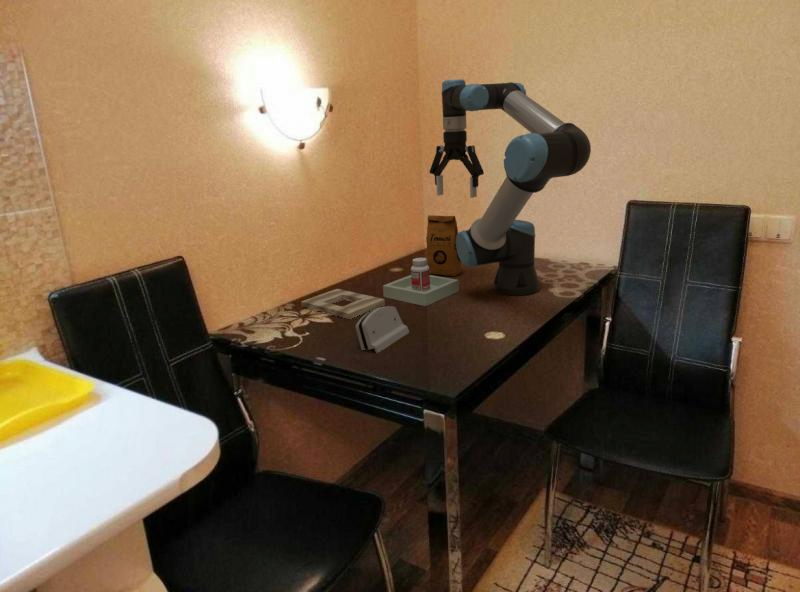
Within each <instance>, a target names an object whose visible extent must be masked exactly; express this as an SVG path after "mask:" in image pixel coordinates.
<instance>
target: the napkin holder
mask: <svg viewBox="0 0 800 592" xmlns="http://www.w3.org/2000/svg"><path fill="white" fill-rule="evenodd" d="M355 331H356V335H357V338H358V341H359V345H360V349H361V351H362V350H365V351H366V350H368V351H369V350H373V349H374V351H375V353H376V354H379V353H380V352H382V351H384V350H385V349H386V348H388V347H390V346H391V345H393V344H394V343H395V342H397V341H399V340H400V339H402V338H404V337H405V336H406V335H409V333H410V330H409V328H408V326H407V325H405V324H404V323H403V321H402V319H401V317H400V315H399V312H398V310H397V308H396V307H395V306H391V305H389V306H388V305H387V306H385V305H384V306H382V307H379V308H376V309H374V310H372V311H370V312H367V313H365V314H363V316H362V317H361V318H360V319H359V320H358V321H357V323H356V324H355ZM381 350H382V351H381ZM378 352H379V353H378Z"/></svg>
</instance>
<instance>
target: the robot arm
mask: <svg viewBox="0 0 800 592" xmlns="http://www.w3.org/2000/svg"><path fill="white" fill-rule="evenodd" d="M441 102H442V105H441V106H442V129H443V130H444V132H443V138H442V139H443V143H444V145H436V148H435V149H436V150H435V156H434V158H433V160H432V164H431V166H430V169H429V174H430V175H434V185H435V186H436V196H443V195H444V175H442V173H443V172H444V170H445V168H446V167H447V165H448V164H449V163H450V161H453V160H454V161H460V162H461V163H462V164H463V166H464V167H465V168H466V170H467V171H468V173H469V174H470V175H471V176H470V177H469V195H470V196H469V197H470V198H471V199H474V198H476V197H478V195H477V194H478V193H477V192H478V190H477V188H478V187H479V176H482V175H484V173H485V172H484V169H483V166H482V165H481V163H480V160H479V158H478V155H477V153H476V147H475V145H474V144H473V145H468V146H467V136H468V134H467V131H466V129H467V112H478V111H486V110H502V111H503V112H504V113H505V114H507V115H508V116H509V117H511V118H512V119H513V120H514V121H516V122H517V123H518V124H520V126H522V127H523V128H524V129H526V131H528V132H529V133H526V134H522V135H521V134H520V135H518V136H515V137H514V138H513V139H511V141H510V142H509V143H508V145H507V146H506V148H505V151H504V154H503V155H504V157H505V158H504V159H503V168H504V171H505V175H506V177H505V179H504V180H503V182H502V184H501V185H500V186H499V188H498V190H497V192H496V193H495V195H494V197H493V198H492V200H491V202H490V204H489V205H488V207H487V208H486V210H485V212H484V213H483V215H482V217H481V218H477V219H475V220H474V221H473V223H472V224H471V226H470V227H469V229H467V230H466V229H464V230H463V229H462V231H458V234H457V237H456V248H457V252H458V256H459V258H460V260H461V264H462V265H463V266H465V267H468V268H471V267H475V268H476V267H479V266H484V265H485V266H486V265H490V264H496V263H498V268H497V271H496V274H495V277H494V280H493V291H494V292H496V293H498V294H502V295H506V296H526V294H528V295H532V294H535V293H537V292H539V291H538V290H540V280H539V276H538V273H537V271H536V267H535V260H536V259H535V254H536V253H535V250H536V249H535V248H536V245H535V243H536V229H535V224H534V223H532V222H530V221H527V220H521V219H517V217H518V216H519V214H520V213H521V211H522V210H523V209H524V207H525V206H526V205H527V203H528V201H529V200H530V199H531V197H532V196H533V194H536V193H538V192H540V191H542V190H543V189H544V188H545V187H546V185H547V184H548V183H549V181H550V180H551V179H554V178H562V177H569V176H572V175H575V174H577V173H578V172H580V171H581V170H582V169H584V168H585V166H586V165H587V163H588V161H589V160H590V157H591V152H592V149H591V148H592V146H591V142H590V140H589V139H590V138H589V137H588V135H587V133H585V132H584V131H583V130H582V129H581V128H580V127H578V126H577V125H575V124H574V123H572V122H564V121H563V120H562V119H561V118H559V117H557V116H556V115H555V114H553V113H552V112H551V111H549V110H548V109H546V108H544V107H543V106H542V105H541V104H539V103H538V102H536V101H535V100H534V99H532V98H531V97H529V96H528V95H527V91H526V88H525V86H524V85H523V84H522V83H520V82H512V81H511V82H501V83H480V84H479V83H470V84H467V83H466V81H465V79H461V78H459V79H446V80H443V82H442V83H441ZM444 153H445V154H444ZM443 155H444V156H443ZM470 198H469V199H470ZM534 292H535V293H534ZM531 293H532V294H531Z"/></svg>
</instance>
